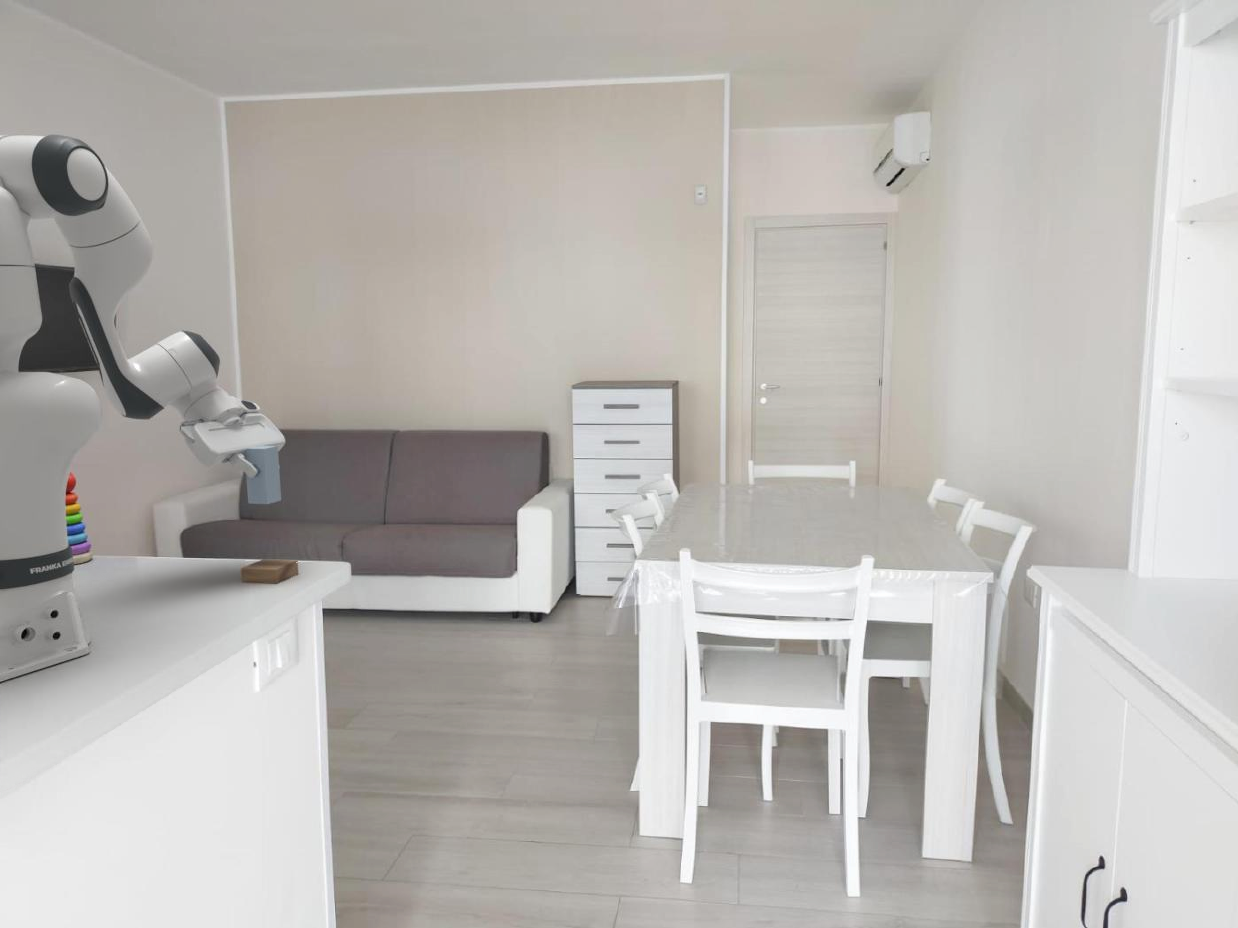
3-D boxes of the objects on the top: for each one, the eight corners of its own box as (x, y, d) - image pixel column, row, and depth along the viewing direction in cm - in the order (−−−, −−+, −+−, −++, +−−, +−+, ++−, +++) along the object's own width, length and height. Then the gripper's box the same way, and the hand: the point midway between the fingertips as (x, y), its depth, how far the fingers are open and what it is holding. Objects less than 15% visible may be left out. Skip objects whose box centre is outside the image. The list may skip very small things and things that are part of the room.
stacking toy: (49, 559, 179) (40, 468, 177) (95, 555, 183) (87, 465, 180) (43, 568, 172) (34, 473, 170) (91, 564, 176) (82, 470, 173)
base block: (277, 586, 159) (275, 569, 159) (242, 584, 160) (240, 568, 160) (298, 575, 166) (297, 560, 165) (264, 574, 167) (263, 559, 167)
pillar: (267, 504, 159) (263, 448, 157) (248, 503, 160) (244, 448, 158) (281, 500, 163) (277, 446, 161) (262, 499, 164) (258, 445, 162)
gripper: (184, 410, 151) (237, 468, 149) (261, 402, 170) (309, 453, 169) (164, 436, 152) (216, 494, 151) (243, 425, 172) (290, 476, 171)
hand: (266, 472), depth 160 cm, fingers closed on pillar, 4 cm apart
